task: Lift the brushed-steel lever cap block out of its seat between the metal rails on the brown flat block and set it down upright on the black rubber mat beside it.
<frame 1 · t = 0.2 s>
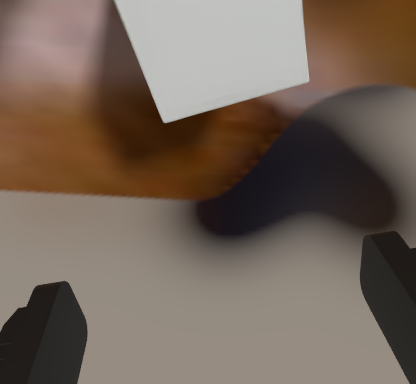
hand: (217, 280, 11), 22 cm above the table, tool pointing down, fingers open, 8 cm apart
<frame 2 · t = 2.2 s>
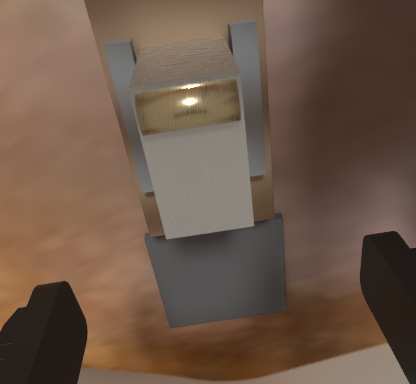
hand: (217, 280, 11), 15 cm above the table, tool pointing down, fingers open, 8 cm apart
brown flat block: (191, 91, 23), on the table
lever cap: (192, 110, 21), point 3 cm above the table, touching brown flat block
rubber mat: (220, 272, 32), on the table
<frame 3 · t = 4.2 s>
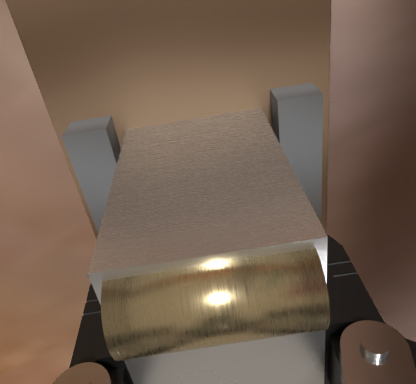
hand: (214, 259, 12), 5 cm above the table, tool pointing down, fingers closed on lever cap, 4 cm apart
brown flat block: (204, 171, 16), on the table
lever cap: (210, 214, 13), point 3 cm above the table, touching gripper, brown flat block
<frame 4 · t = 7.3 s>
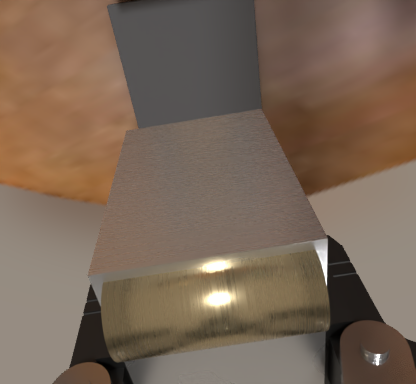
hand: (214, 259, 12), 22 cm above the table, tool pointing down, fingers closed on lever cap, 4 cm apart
lever cap: (210, 215, 13), point 20 cm above the table, touching gripper
rubber mat: (191, 65, 30), on the table
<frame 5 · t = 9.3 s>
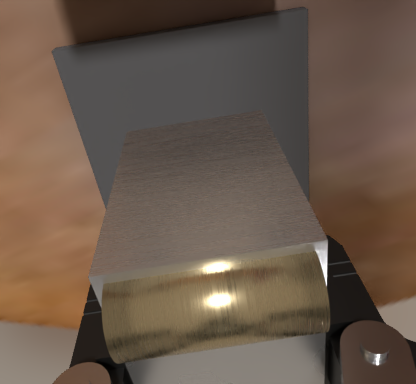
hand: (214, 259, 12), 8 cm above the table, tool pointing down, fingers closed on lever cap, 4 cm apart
lever cap: (210, 216, 13), point 6 cm above the table, touching gripper
rubber mat: (198, 140, 18), on the table
when the fingers open (4 cm above the table, at t = 10.8 s): lever cap drops 1 cm, resting on rubber mat.
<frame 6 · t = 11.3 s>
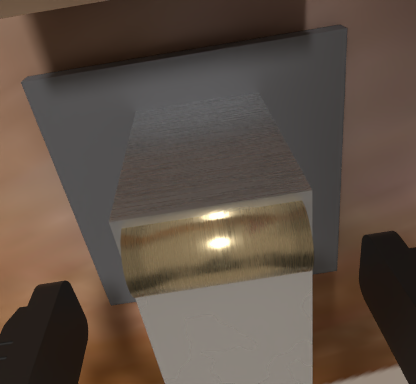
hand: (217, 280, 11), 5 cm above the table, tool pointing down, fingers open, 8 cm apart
lever cap: (211, 192, 15), point 1 cm above the table, touching rubber mat
rubber mat: (205, 184, 15), on the table
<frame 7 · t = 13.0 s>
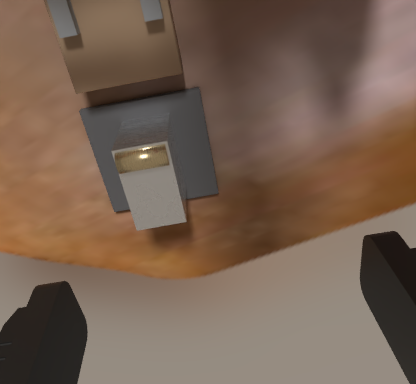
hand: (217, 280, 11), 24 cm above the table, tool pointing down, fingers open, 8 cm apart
lever cap: (155, 154, 35), point 1 cm above the table, touching rubber mat
rubber mat: (154, 152, 35), on the table
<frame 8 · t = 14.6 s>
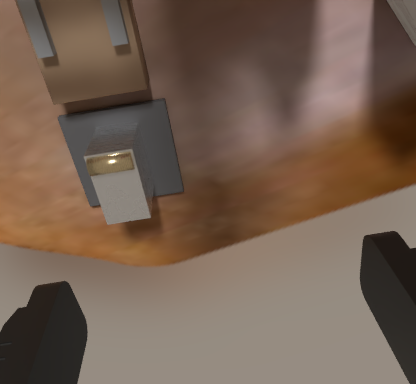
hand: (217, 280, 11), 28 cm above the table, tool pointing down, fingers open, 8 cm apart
lever cap: (126, 156, 39), point 1 cm above the table, touching rubber mat
rubber mat: (125, 154, 40), on the table
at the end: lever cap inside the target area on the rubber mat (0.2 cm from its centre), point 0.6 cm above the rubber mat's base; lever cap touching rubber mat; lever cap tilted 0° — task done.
